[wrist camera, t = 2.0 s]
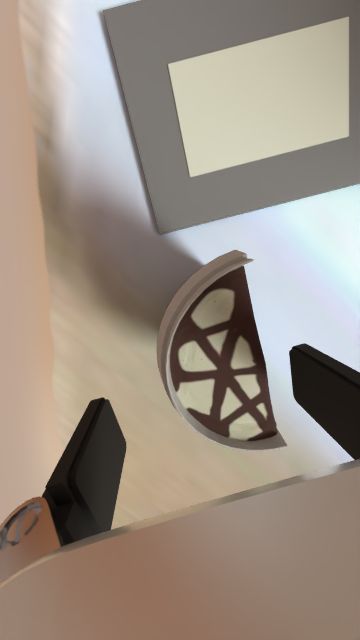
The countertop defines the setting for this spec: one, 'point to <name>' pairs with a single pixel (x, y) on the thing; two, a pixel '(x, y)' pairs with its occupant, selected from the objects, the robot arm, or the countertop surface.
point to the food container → (218, 358)
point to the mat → (239, 101)
